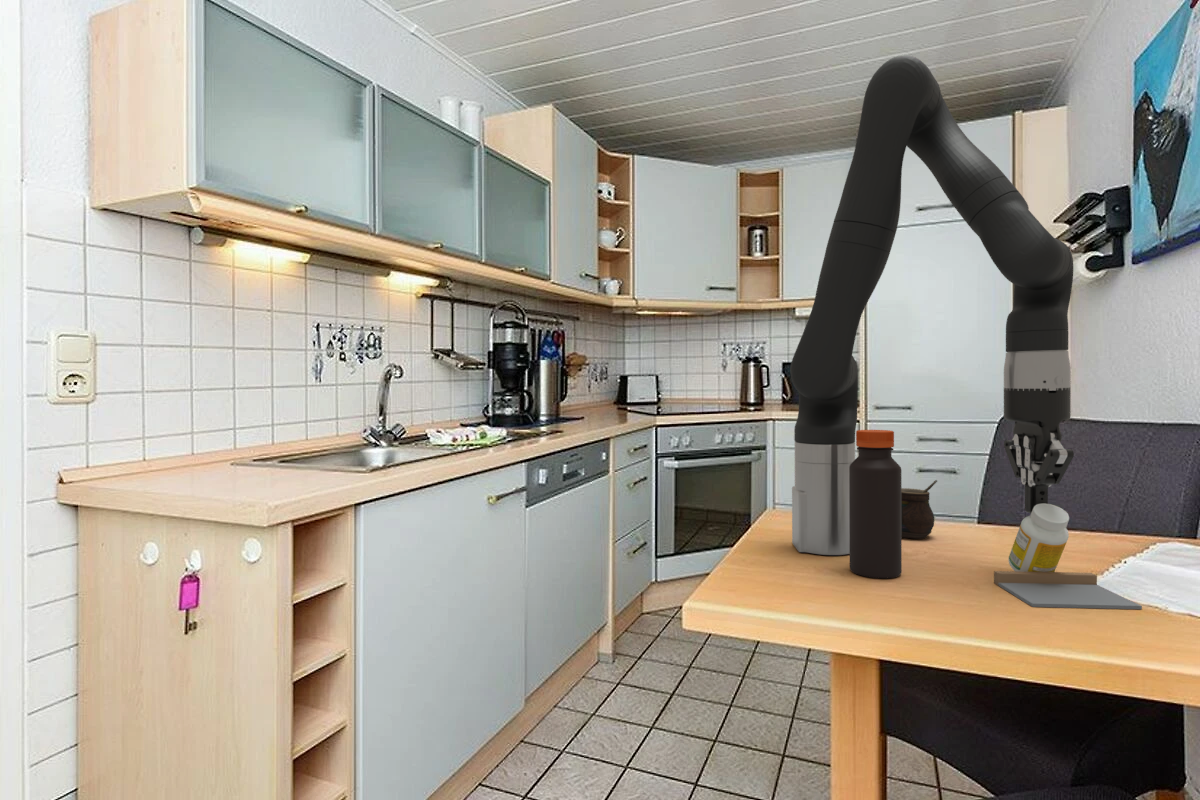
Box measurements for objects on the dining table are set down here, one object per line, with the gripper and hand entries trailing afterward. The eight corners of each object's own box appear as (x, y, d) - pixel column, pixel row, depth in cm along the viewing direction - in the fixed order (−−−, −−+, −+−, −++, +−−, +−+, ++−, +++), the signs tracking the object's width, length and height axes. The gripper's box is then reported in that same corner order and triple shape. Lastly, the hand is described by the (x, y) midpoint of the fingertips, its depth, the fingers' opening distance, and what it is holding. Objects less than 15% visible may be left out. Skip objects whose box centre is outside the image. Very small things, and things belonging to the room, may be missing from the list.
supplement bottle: (1000, 566, 91) (1019, 510, 86) (1018, 548, 93) (1037, 494, 89) (1042, 588, 87) (1065, 531, 82) (1060, 569, 90) (1082, 513, 85)
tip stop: (1032, 606, 78) (1032, 593, 78) (993, 582, 88) (993, 570, 88) (1141, 609, 77) (1141, 595, 77) (1091, 584, 86) (1091, 572, 86)
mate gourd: (883, 531, 119) (883, 475, 119) (927, 532, 118) (928, 476, 118) (895, 540, 112) (895, 481, 111) (942, 541, 111) (943, 482, 110)
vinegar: (861, 563, 98) (861, 428, 98) (909, 572, 93) (909, 430, 93) (841, 572, 93) (840, 431, 93) (889, 582, 88) (889, 433, 88)
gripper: (983, 385, 96) (983, 503, 96) (1033, 387, 83) (1033, 524, 83) (1038, 383, 95) (1038, 503, 96) (1098, 385, 82) (1097, 524, 82)
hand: (1036, 513), depth 89 cm, fingers closed
